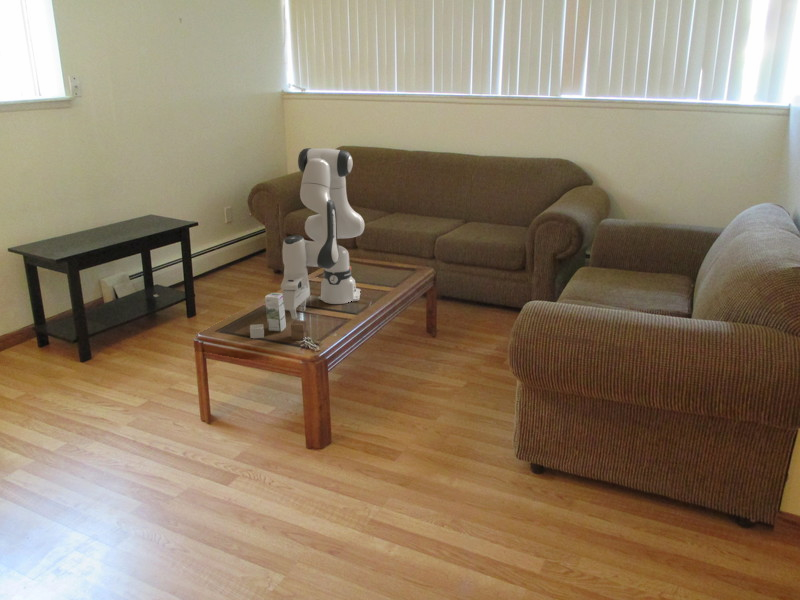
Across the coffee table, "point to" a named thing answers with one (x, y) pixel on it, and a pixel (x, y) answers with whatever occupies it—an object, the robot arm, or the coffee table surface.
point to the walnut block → (299, 329)
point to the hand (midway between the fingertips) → (298, 314)
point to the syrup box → (275, 312)
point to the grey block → (257, 331)
